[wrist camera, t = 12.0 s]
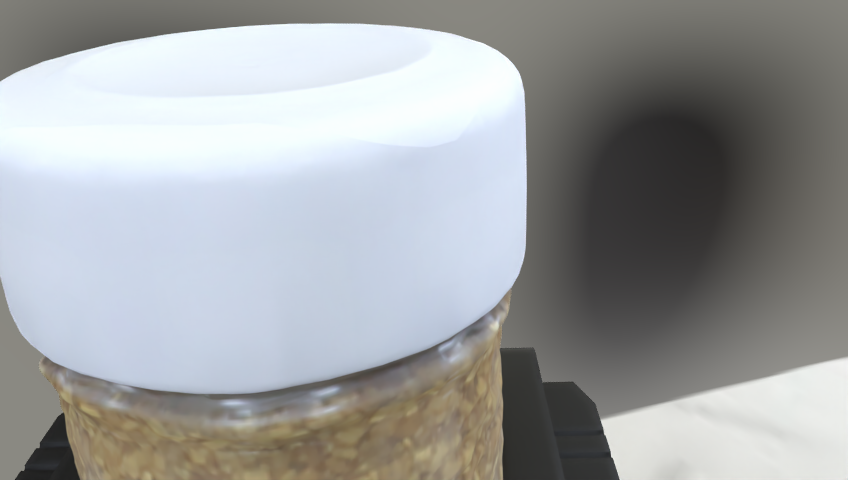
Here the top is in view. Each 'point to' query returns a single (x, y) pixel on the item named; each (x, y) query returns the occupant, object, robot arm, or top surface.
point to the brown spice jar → (269, 250)
